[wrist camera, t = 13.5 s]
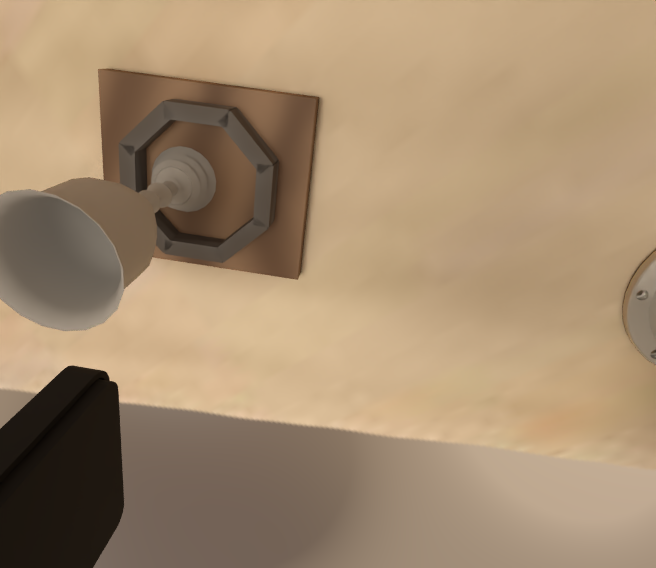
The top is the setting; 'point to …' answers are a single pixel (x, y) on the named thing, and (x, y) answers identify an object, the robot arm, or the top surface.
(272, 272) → the display stand
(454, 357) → the top surface
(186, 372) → the top surface
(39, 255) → the chalice
